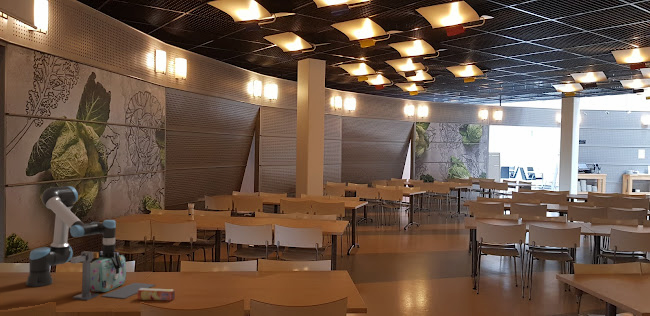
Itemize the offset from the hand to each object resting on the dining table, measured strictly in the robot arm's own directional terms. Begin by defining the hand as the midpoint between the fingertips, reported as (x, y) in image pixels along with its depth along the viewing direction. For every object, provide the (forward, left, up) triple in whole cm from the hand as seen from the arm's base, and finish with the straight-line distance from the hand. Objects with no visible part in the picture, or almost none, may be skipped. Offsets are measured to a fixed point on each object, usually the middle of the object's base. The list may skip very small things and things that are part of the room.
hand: (108, 277), depth 310 cm
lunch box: (0, 0, -7) cm, 7 cm away
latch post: (0, -20, -7) cm, 21 cm away
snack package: (+42, -11, -7) cm, 44 cm away
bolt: (0, -22, +16) cm, 27 cm away
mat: (+16, 0, -7) cm, 17 cm away
